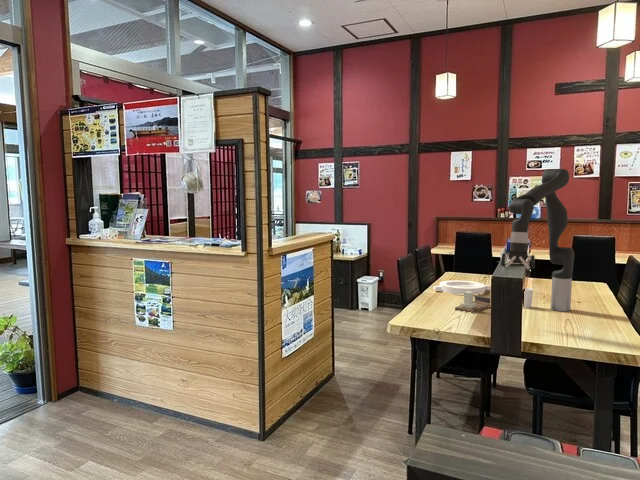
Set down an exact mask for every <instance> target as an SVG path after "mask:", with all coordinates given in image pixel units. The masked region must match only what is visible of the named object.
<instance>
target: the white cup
mask: <svg viewBox="0 0 640 480" xmlns="http://www.w3.org/2000/svg"><path fill="white" fill-rule="evenodd" d="M524 288H525V291H524V308H523V309H531V308H532V301H533V293H534V289H533V288H531V287H524Z"/></svg>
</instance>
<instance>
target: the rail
mask: <svg viewBox="0 0 640 480" xmlns="http://www.w3.org/2000/svg"><path fill="white" fill-rule="evenodd" d="M490 298H491V297H488V296H481V295H475V296H474V300H473V303H476V307H475V308H472V309H470V308H465V307H461V305H458V306H455V307H454V310H455V311H458V310H460V311H459V312H463V311H465V312H464V313H468V312H471V313H470V314H475V313H477V312H476V311H478V312H480V311H482V310H481V309H483V308H486V307H488V306H490ZM488 308H489V307H488ZM486 309H487V308H486ZM479 310H480V311H479ZM483 310H484V309H483ZM474 312H475V313H474Z"/></svg>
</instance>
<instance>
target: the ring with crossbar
mask: <svg viewBox="0 0 640 480" xmlns="http://www.w3.org/2000/svg"><path fill="white" fill-rule="evenodd" d="M490 290H491V285H489V284H484V283H482V282H478V281H474V280H473V281H470V280H458V279H457V280H455V279H454V280H444V281H443V280H442V281H439V285H434V286H433V291H439V292H441V291H443V292H447V293H452V294H464V292H467V291H470V292H473V294H480V293H484V292H485V293H486V291H490ZM443 292H442V293H443ZM485 293H484V294H485ZM452 294H451V295H452Z"/></svg>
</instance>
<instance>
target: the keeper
mask: <svg viewBox="0 0 640 480" xmlns="http://www.w3.org/2000/svg"><path fill="white" fill-rule="evenodd" d="M473 301H474V296H473V292H470V291H467V292H464V296H463V302H461V303H460V306H461V307H465V308H470V309H472V308H475V307H476V303H473Z"/></svg>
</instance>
